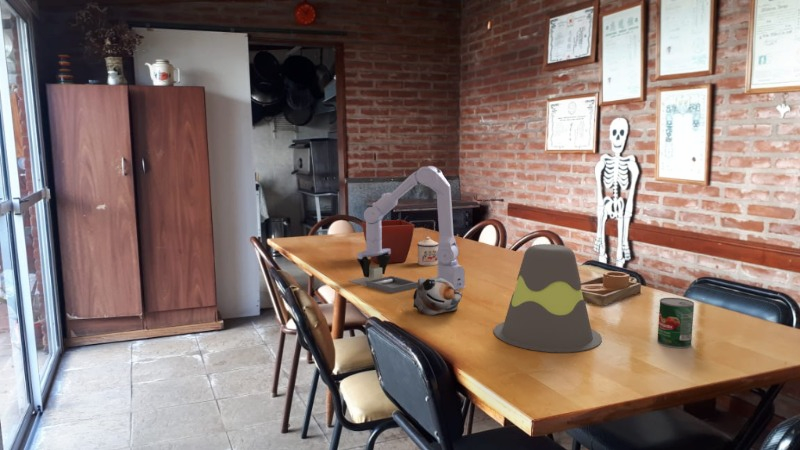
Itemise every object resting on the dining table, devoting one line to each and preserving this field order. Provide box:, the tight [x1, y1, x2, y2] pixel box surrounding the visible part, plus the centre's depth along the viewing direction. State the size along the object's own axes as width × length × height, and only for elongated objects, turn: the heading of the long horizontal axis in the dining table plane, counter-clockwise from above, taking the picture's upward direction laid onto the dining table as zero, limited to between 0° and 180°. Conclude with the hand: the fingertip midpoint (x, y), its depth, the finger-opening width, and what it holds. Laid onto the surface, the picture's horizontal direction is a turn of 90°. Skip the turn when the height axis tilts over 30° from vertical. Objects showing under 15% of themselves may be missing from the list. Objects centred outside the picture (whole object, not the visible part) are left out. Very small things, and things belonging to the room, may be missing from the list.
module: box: [367, 265, 383, 281], centre depth 211 cm, size 4×4×5 cm
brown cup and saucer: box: [581, 270, 630, 295], centre depth 194 cm, size 18×8×7 cm, turn 104°
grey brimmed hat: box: [493, 243, 603, 354], centre depth 151 cm, size 28×28×24 cm
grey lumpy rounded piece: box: [412, 277, 463, 316], centre depth 172 cm, size 15×12×14 cm
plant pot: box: [361, 219, 415, 264], centre depth 252 cm, size 19×19×17 cm
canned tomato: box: [656, 297, 695, 349], centre depth 145 cm, size 8×8×11 cm
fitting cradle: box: [581, 275, 642, 306], centre depth 194 cm, size 15×25×3 cm, turn 132°
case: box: [366, 275, 418, 294], centre depth 203 cm, size 14×12×2 cm
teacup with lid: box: [416, 236, 438, 267], centre depth 245 cm, size 12×9×12 cm
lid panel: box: [348, 276, 367, 287], centre depth 212 cm, size 11×12×1 cm
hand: (374, 275), depth 212 cm, fingers open, 7 cm apart
